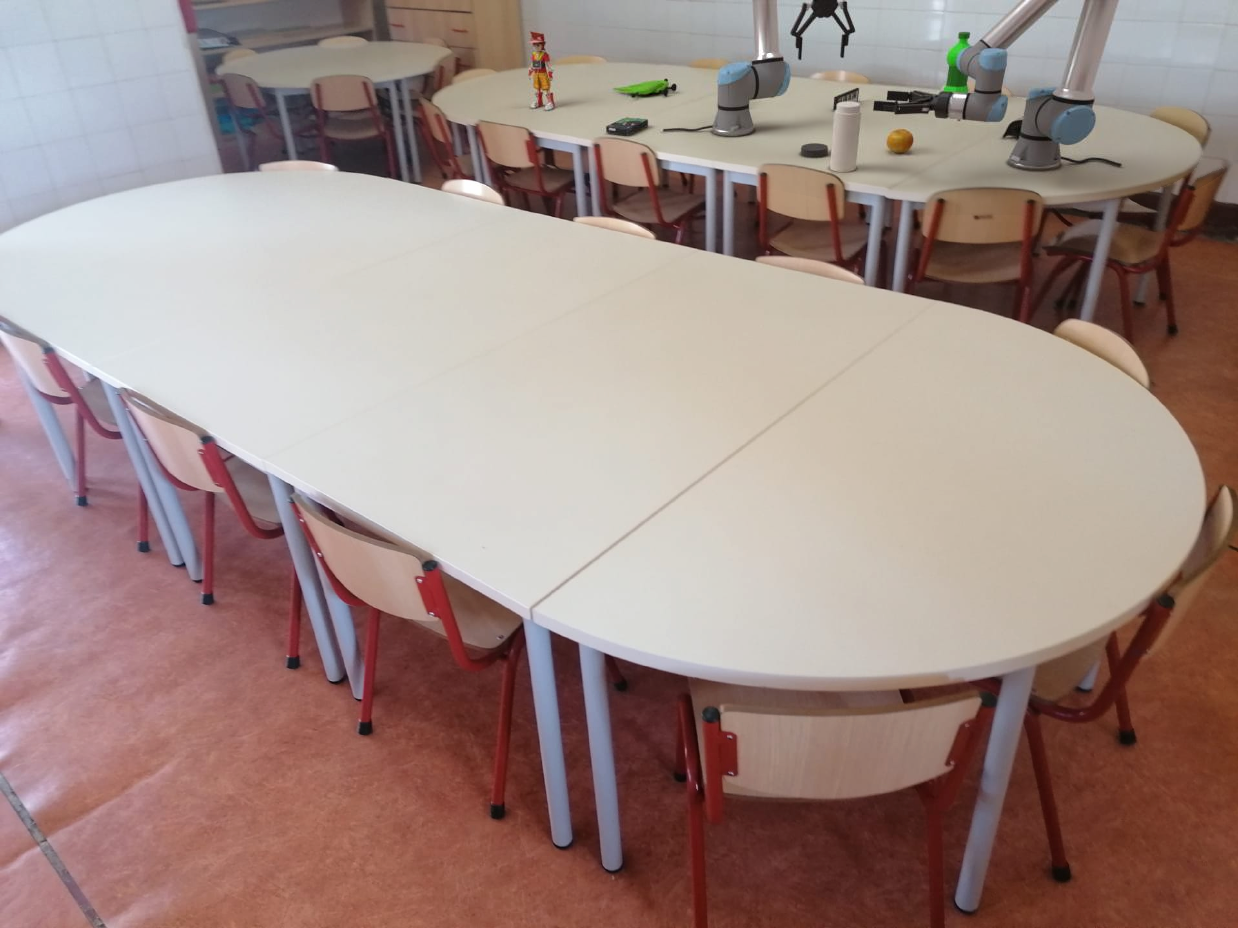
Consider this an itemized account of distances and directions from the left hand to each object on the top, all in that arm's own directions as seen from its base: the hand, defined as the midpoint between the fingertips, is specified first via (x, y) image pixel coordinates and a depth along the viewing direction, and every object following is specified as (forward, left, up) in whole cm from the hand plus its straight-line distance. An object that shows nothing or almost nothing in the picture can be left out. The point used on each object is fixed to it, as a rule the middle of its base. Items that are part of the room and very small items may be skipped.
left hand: (820, 58), depth 291 cm
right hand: (+24, -12, -9) cm, 29 cm away
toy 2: (-104, +62, -30) cm, 125 cm away
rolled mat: (+62, +53, -30) cm, 87 cm away
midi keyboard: (-11, +66, -30) cm, 73 cm away
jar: (+14, -12, -30) cm, 36 cm away
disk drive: (-77, +5, -30) cm, 83 cm away
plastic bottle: (+27, +84, -30) cm, 94 cm away
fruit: (+26, +12, -30) cm, 42 cm away
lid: (0, 0, -28) cm, 29 cm away
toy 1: (-131, +25, -30) cm, 136 cm away
